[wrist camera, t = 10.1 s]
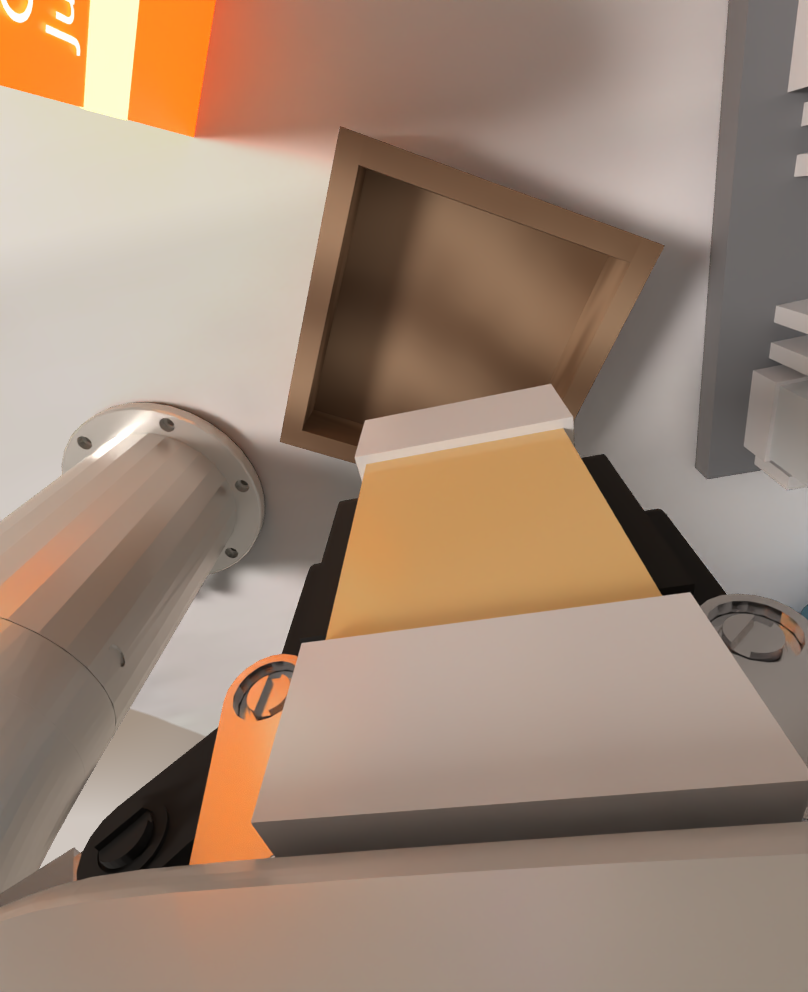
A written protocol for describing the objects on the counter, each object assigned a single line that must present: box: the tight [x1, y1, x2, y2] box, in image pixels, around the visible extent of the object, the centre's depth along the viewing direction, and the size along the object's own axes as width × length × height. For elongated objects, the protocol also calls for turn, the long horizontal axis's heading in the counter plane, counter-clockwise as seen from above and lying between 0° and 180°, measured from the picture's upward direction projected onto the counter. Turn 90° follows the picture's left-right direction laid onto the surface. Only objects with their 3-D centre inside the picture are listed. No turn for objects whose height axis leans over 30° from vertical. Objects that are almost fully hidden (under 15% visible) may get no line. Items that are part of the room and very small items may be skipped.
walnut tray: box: [280, 126, 665, 464], centre depth 25 cm, size 14×14×4 cm
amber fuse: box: [251, 384, 808, 858], centre depth 9 cm, size 4×4×9 cm
